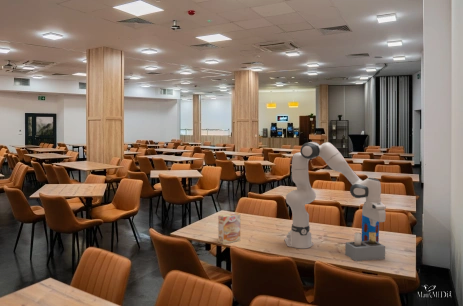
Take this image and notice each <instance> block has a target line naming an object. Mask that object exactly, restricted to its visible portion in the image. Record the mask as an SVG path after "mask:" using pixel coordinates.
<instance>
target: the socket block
mask: <svg viewBox="0 0 463 306" xmlns="http://www.w3.org/2000/svg"><path fill="white" fill-rule="evenodd" d="M344 247H345V249H344V250H345V251H344V252H345V253H344V254H345V256H346V257H348V258H349V259H351V260H353V261H354V262H362V260H365V261H375V260H385V258H386V246H385V245H384V244H382V243H380V242H379V243H378V242H376V244H370V243H369V241H361V245H355V244H354V241H346V242H345V246H344Z"/></svg>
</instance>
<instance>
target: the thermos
mask: <svg viewBox="0 0 463 306" xmlns="http://www.w3.org/2000/svg"><path fill="white" fill-rule="evenodd" d="M369 232H375V233H376V242H378V243H380V242H379V241H380V240H379V239H380V238H379V237H380V235H379V233H380V222H378V221H377V222H376V226H371V223H370V220H369V218H368V217H366V216H363V214H362V213H361V241H369Z"/></svg>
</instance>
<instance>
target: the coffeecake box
mask: <svg viewBox="0 0 463 306" xmlns="http://www.w3.org/2000/svg"><path fill="white" fill-rule="evenodd" d="M217 216H218V225H217V226H218V227H217V228H218V229H217V231H218V232H217V233H218V235H217V236H218V238H217V239H218V243H219V244H221V245H227V244H231V243H235V242H241V216H242V215H241V213H239V212H229V213H224V214H218V215H217Z"/></svg>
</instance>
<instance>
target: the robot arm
mask: <svg viewBox="0 0 463 306" xmlns="http://www.w3.org/2000/svg"><path fill="white" fill-rule="evenodd" d="M318 157H320V158H321V159H322V160H323V161H324V162H325V164H326V165H327V166H328V167H329V168H330V169H331V170H332V171H335V172H338V173H341V174H342V175H343V176H344V178H346V179H347V181H349V183H350V184H351V186H350V188H349V192H350V195H351V196H352V197H353V198H355V199H363V198H365V201H364V202H363V204H362V210H361V211H362V212H361V215H362V214H363V216H366V217H368V218H369V220H370V223H371V226H376V222H377V221H378V222H379V223H384V222H385V221H386V219H387V218H386V217H387V216H386V209H387V206H386V205H385V204H384V203H383V202H382V198H381V194H382V184H381V181H380V180H379V179H377V178H375V177H367V178H366V179H364V180H363V179H362V178H360V177H359V176H358V175H357V174H356V172H355V171H354V170H353V169H352V167H351V166H350V165H349V163H348V162H347V161H346V159H345V158H344V156H343V155H342V153H341V152H340V151H339V150H338V149H337V147H336V146H335V145H333V144H332V143H331V142H329V141H327V142H323V143H322V144H320V143H318V142H316V141H310V142H309V141H308V142H305V143H304V144H302V146H301V147H300V152H296V153H294V154H293V155H292V160H291V179H292V182H293V183H294V184H295V186H296V189H293V190H291V191H289V192H287V194H286V195H285V202H286V204H287V205H288V206H289V207H290V209H291V213H292V215H291V216H292V224H291V229H290V230H289V232H288V233H287V234H286V238H284V242H285V244H286V246H287V247H289V248H295V249H309V248H311V247H312V246H314V245H315V244H314V242H313V241H312V240H313V239H312V232H310V230H311V229H310V228H311V227H310V213H308V211H307V210H306V205H309V204H311V203H312V202H314V201H315V199H316V197H317V195H316V191H315V190H314V189H313V188H312V186H311V183H310V176H309V175H310V174H309V161H310V160H312V159H316V158H318Z"/></svg>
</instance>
